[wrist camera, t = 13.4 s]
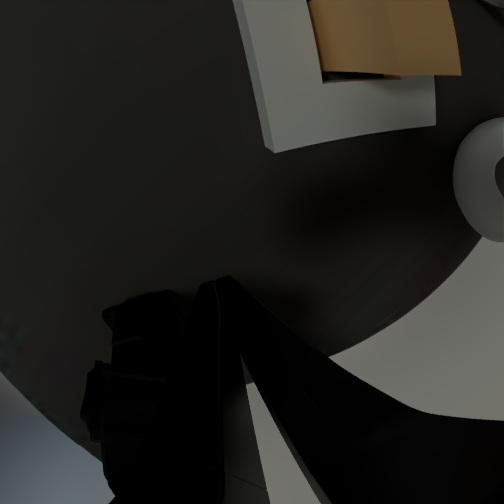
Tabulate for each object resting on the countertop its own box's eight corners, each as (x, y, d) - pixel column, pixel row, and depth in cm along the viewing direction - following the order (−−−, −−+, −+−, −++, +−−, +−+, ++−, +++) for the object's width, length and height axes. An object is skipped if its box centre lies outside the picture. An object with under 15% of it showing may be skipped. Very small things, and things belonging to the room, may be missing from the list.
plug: (376, 65, 16) (461, 75, 10) (318, 71, 16) (399, 75, 9) (351, -28, 11) (430, -52, 5) (289, -30, 11) (356, -74, 5)
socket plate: (419, 119, 19) (440, 127, 17) (265, 146, 18) (278, 155, 16) (396, -30, 11) (418, -35, 9) (220, -44, 10) (228, -60, 8)
